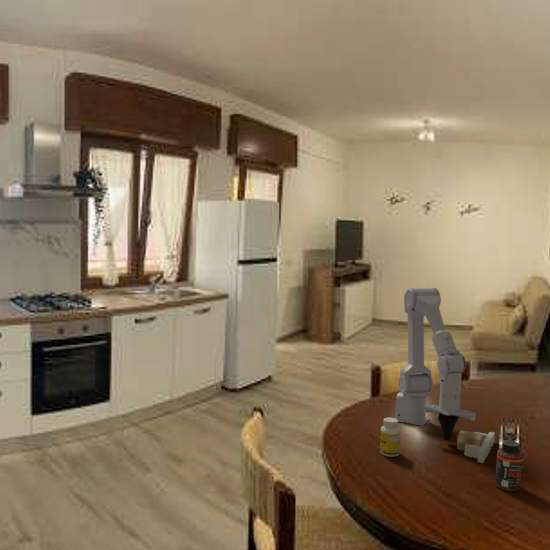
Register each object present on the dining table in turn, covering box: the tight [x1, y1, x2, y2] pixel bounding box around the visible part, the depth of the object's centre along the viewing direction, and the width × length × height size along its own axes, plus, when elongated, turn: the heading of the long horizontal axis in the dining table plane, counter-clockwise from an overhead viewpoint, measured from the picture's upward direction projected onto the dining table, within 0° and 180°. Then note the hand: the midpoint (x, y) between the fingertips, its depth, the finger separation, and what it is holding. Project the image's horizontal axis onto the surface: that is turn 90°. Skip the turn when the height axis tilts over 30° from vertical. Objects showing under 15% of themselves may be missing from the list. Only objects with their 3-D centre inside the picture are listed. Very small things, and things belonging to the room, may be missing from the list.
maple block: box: [456, 429, 482, 451], centre depth 173 cm, size 6×6×4 cm
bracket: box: [464, 431, 496, 464], centre depth 171 cm, size 6×18×3 cm, turn 151°
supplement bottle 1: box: [379, 417, 401, 458], centre depth 167 cm, size 5×5×10 cm
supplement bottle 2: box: [494, 439, 524, 492], centre depth 147 cm, size 6×6×11 cm
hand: (447, 439), depth 176 cm, fingers closed
